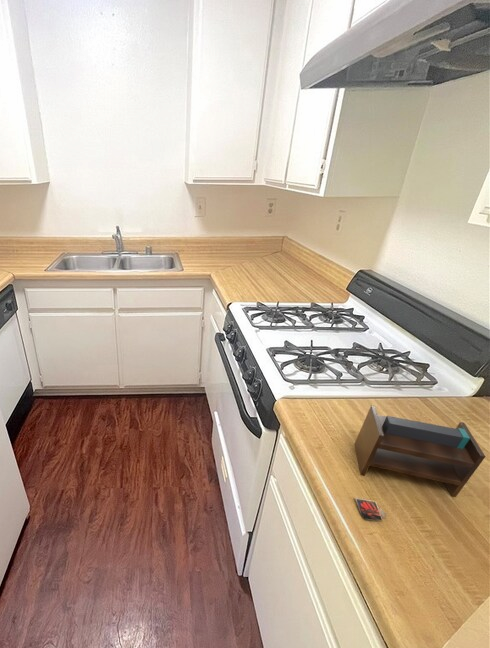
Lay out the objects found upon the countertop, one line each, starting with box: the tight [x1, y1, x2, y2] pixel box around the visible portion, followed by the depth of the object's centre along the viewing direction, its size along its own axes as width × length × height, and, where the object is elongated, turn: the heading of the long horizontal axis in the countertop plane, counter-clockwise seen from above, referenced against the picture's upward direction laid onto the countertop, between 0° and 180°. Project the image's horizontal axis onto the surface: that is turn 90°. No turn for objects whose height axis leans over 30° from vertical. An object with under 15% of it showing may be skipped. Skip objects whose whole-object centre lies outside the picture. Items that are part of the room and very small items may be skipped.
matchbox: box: [354, 497, 387, 522], centre depth 64 cm, size 5×5×1 cm
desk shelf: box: [354, 405, 486, 498], centre depth 70 cm, size 17×10×11 cm, turn 72°
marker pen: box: [382, 415, 470, 449], centre depth 67 cm, size 13×3×3 cm, turn 72°
